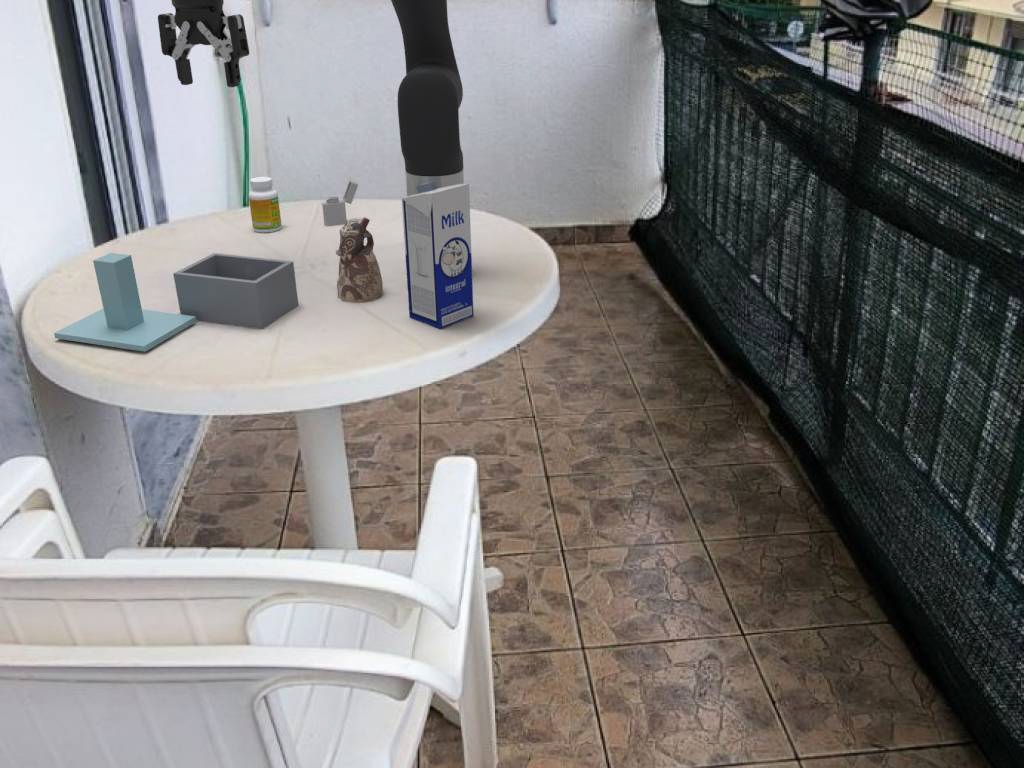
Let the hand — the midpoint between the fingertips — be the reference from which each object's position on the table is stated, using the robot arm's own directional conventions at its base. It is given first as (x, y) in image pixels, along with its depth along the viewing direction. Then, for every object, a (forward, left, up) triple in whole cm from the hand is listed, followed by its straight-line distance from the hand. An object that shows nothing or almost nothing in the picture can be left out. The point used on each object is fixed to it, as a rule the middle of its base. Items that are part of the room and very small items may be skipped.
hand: (210, 85), depth 147 cm
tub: (-12, +17, -30) cm, 37 cm away
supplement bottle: (+8, -22, -30) cm, 38 cm away
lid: (-1, +29, -30) cm, 41 cm away
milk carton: (-42, +10, -30) cm, 53 cm away
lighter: (-4, -30, -30) cm, 43 cm away
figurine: (-26, +5, -30) cm, 40 cm away
